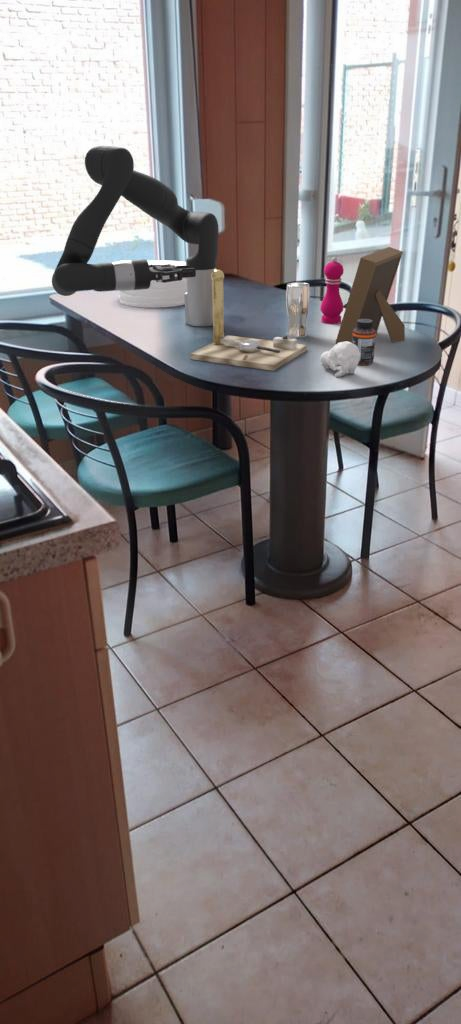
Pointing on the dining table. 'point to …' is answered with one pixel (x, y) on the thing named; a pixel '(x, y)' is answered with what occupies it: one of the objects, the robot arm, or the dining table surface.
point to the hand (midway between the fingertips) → (192, 270)
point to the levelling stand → (254, 359)
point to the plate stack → (157, 292)
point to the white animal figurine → (341, 358)
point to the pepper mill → (332, 293)
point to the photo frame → (373, 295)
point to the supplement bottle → (364, 340)
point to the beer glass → (297, 308)
